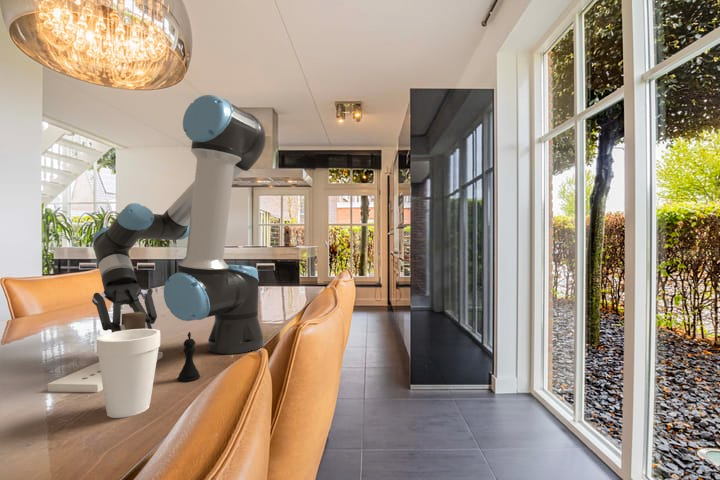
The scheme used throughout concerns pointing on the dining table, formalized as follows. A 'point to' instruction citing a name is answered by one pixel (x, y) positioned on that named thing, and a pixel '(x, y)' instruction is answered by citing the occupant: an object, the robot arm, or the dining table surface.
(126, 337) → the foam cup
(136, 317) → the stub
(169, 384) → the dining table surface
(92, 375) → the white perforated board
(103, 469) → the dining table surface
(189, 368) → the chess piece
